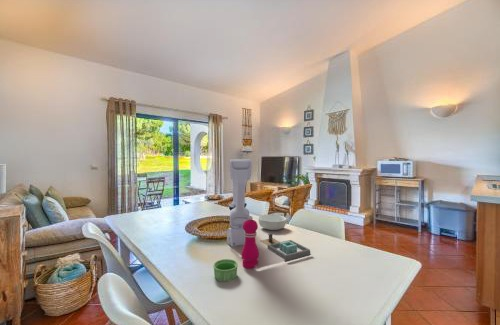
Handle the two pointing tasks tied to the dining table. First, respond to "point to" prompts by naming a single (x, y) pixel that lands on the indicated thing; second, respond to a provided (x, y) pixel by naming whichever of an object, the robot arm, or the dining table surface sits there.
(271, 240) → the stake board
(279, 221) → the cereal bowl
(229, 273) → the ramekin
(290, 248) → the collar
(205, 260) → the dining table surface
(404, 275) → the dining table surface
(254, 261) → the pepper mill
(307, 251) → the tray
